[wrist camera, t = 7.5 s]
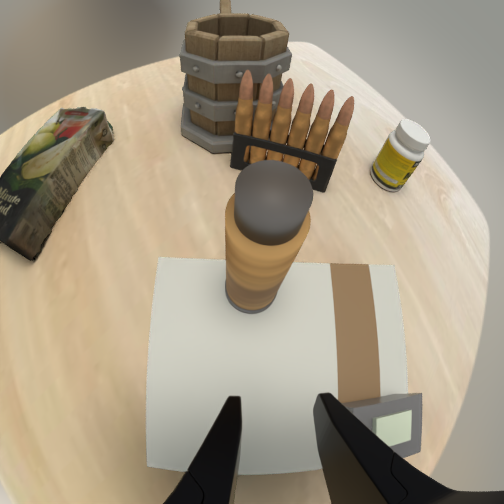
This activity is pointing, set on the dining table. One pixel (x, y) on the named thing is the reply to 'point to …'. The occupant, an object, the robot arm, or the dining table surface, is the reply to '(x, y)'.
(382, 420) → the grey cube-like block
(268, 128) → the ammunition clip
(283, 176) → the tan cylinder
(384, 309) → the floor panel
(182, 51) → the tankard
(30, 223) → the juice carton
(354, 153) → the dining table surface
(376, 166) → the supplement bottle
